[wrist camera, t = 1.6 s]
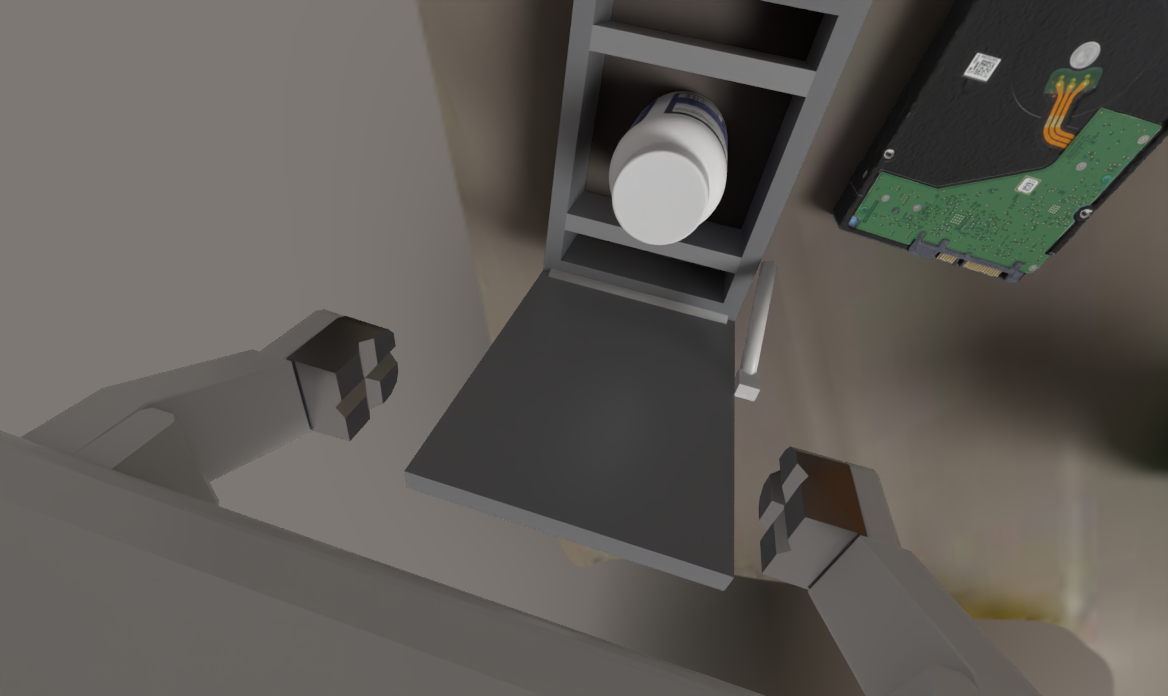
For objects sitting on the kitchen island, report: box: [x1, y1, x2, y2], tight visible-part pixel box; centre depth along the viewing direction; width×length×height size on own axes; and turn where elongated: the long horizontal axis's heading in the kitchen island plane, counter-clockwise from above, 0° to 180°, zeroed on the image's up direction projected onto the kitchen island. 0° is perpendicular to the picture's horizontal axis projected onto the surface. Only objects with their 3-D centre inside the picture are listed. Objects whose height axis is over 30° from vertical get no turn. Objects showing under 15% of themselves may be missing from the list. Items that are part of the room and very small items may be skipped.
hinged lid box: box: [405, 0, 873, 591], centre depth 20 cm, size 17×13×20 cm
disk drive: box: [833, 0, 1168, 283], centre depth 22 cm, size 10×3×15 cm
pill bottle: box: [609, 91, 728, 245], centre depth 24 cm, size 5×5×10 cm
